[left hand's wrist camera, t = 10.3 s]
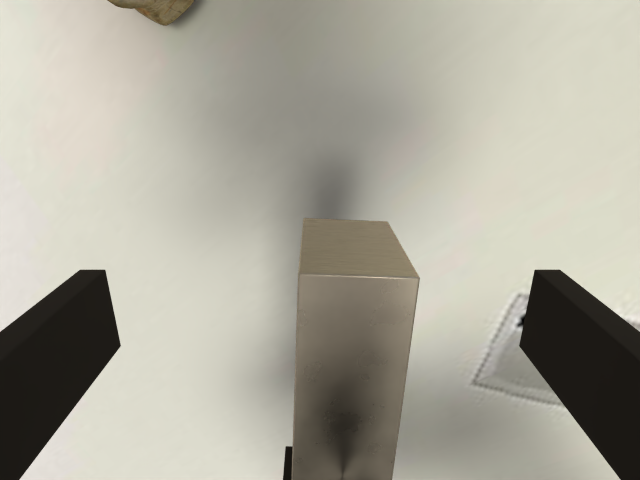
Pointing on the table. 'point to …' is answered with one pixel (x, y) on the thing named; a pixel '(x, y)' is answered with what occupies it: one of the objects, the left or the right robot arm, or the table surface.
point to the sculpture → (157, 8)
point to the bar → (350, 349)
